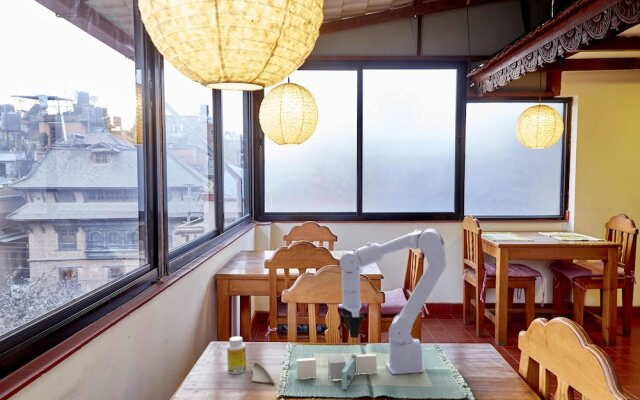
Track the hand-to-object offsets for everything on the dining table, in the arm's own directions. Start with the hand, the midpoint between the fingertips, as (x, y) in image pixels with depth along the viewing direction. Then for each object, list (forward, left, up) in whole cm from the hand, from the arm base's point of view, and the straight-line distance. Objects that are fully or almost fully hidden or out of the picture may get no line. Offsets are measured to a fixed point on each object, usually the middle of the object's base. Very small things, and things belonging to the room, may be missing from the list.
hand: (352, 333), depth 147 cm
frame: (+6, +8, -10) cm, 14 cm away
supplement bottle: (+36, -1, -10) cm, 37 cm away
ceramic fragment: (+28, +5, -11) cm, 31 cm away
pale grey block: (+6, +9, -10) cm, 15 cm away
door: (+3, +13, -10) cm, 17 cm away
